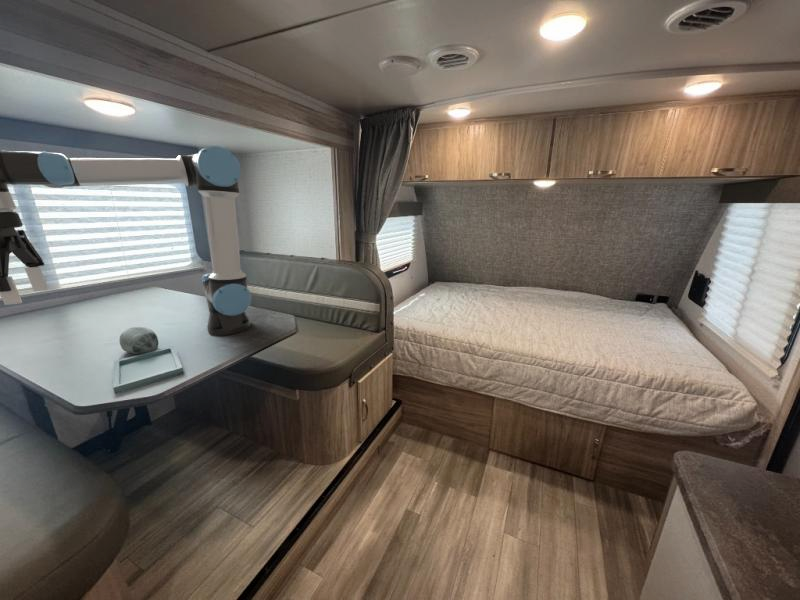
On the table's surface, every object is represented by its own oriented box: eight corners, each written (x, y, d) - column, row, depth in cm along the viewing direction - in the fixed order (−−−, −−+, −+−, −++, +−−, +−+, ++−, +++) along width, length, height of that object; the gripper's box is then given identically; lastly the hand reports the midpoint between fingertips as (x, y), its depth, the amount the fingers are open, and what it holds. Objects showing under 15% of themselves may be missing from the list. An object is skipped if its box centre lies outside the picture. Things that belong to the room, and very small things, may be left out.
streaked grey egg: (169, 340, 107) (144, 320, 102) (144, 362, 101) (116, 342, 96) (159, 339, 116) (135, 321, 111) (134, 360, 110) (108, 341, 105)
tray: (175, 351, 106) (174, 345, 106) (183, 373, 92) (182, 367, 92) (116, 366, 97) (114, 361, 96) (115, 394, 83) (113, 387, 82)
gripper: (1, 210, 82) (33, 287, 89) (-74, 213, 62) (-26, 313, 68) (40, 209, 86) (68, 283, 92) (-18, 211, 65) (23, 307, 72)
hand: (28, 296), depth 80 cm, fingers open, 13 cm apart
